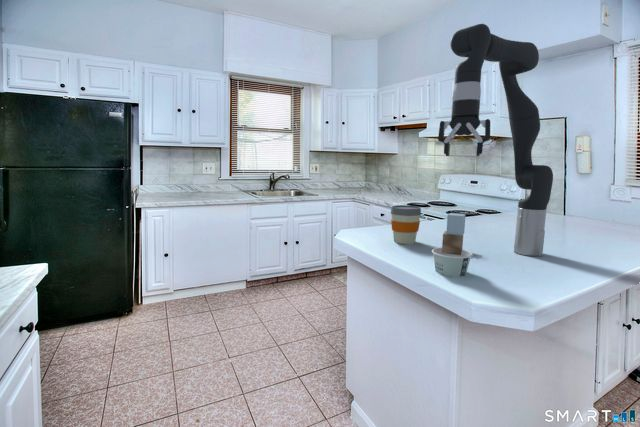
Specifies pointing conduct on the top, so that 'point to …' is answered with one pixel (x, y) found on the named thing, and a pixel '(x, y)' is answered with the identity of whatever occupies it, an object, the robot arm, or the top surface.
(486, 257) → the top surface
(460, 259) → the food container
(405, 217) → the reusable coffee cup
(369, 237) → the top surface
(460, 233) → the blue-grey block
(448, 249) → the walnut block
